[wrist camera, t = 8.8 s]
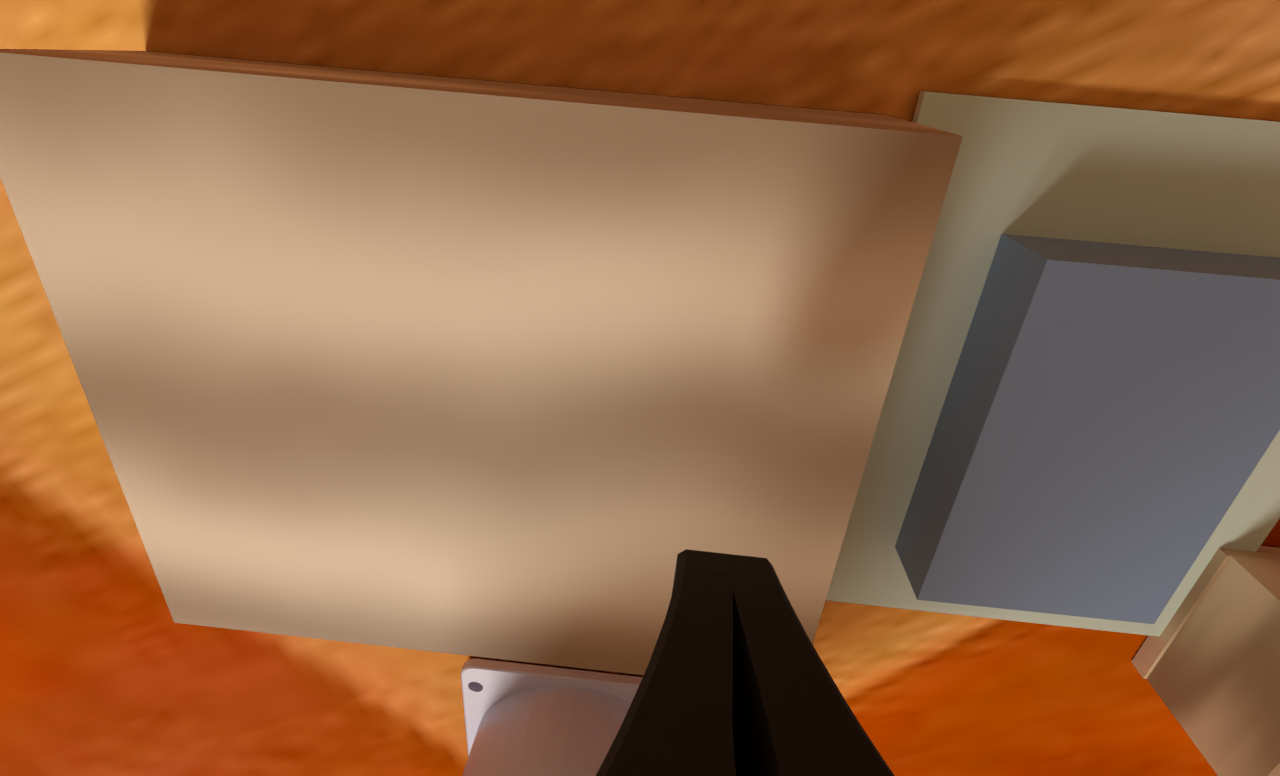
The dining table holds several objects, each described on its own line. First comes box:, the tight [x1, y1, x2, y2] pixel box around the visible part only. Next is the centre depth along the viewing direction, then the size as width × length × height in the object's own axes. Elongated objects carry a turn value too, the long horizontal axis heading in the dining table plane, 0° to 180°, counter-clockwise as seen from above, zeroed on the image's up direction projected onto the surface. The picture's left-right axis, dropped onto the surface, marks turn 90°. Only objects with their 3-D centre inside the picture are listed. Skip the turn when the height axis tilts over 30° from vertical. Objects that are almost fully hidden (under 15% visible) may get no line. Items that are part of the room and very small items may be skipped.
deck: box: [0, 49, 963, 675], centre depth 15 cm, size 13×16×4 cm
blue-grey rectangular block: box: [895, 234, 1280, 624], centre depth 15 cm, size 9×6×2 cm, turn 176°
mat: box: [826, 91, 1280, 637], centre depth 16 cm, size 14×12×1 cm
